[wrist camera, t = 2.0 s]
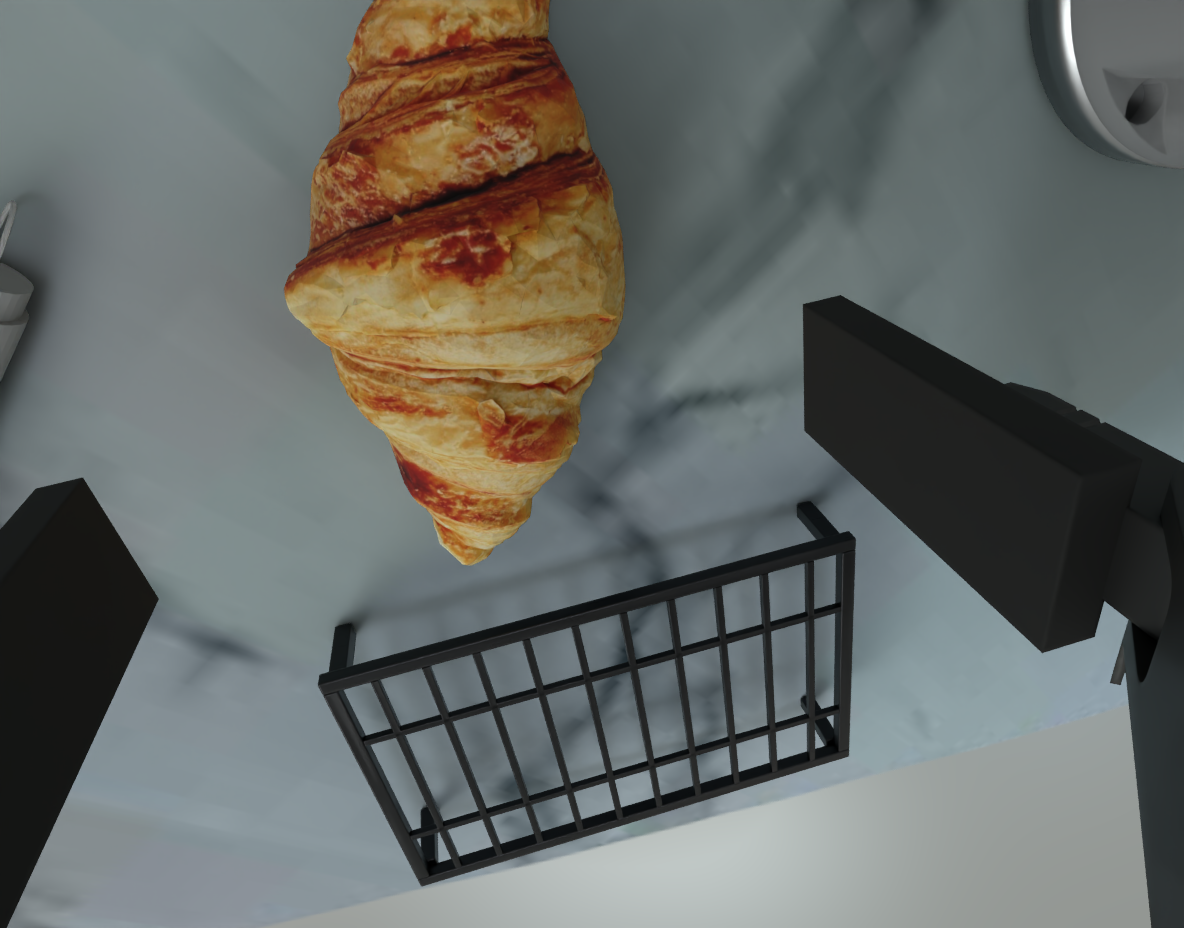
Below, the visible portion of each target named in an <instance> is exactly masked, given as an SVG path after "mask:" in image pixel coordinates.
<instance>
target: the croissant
mask: <svg viewBox="0 0 1184 928" xmlns="http://www.w3.org/2000/svg"><path fill="white" fill-rule="evenodd" d="M549 3H550V0H374V1H373V3H372V4H371V6H370V7H369V9H368V10H367V12H366V13H365V15H364V17H363V18H362V20H361V22H360V24H359V26H358V28H357V31H356V35H355V39H354V43H353V47H352V49H351V51H350V52H349V54H348V56H347V58H346V59H347V61H348V63H349V65H350V67H351V71H350V75H349V80H348V84H347V88H346V89H345V90H344V91H343V92H342V93H341V95H340V98H339V102H338V106H339V111H340V115H341V118H340V127H339V134H338V135H336V136H335V137H334V138H333V139H332V140H330V142H329V144H328V145H327V147H326V149H325V151H324V152H323V154H322V156H321V157H320V160H319V164H318V165H317V166H316V168H315V170H314V173H313V179H312V185H311V207H310V220H311V236H310V246H309V251H308V255H307V257H306V258H304V259H303V260H302V261H300V262H299V263H298V264H296V269H295V270H294V271H293V272H292V273H291V274H290V275H289V276H288V279H287V282H286V284H285V287H284V292H285V299H286V302H287V305H288V308H289V310H290V311H291V313H292V314H293V315H294V317H295V318H296V319H298V320H300V321H301V322H302V323H303V324H304V325H305V326H306V327H307V328H309V329H310V330H311V332H312V334H313V335H314V336H315V337H317V338H318V339H319V340H320V341H322V342H323V343H325V344H326V345H328V346H330V350H331V352H332V355H333V359H334V362H335V365H336V368H337V371H338V375H339V378H340V380H341V382H342V383H343V385H344V386H345V389H346V392H347V394H348V396H349V397H350V398H351V400H352V401H353V402H354V404H355V405H356V406H357V407H358V409H359V410H360V411H361V412H362V414H363V415H364V416H365V417H366V418H367V419H368V420H369V421H370V422H371V423H373V424H374V425H375V426H376V427H378V428H379V429H381V430H383V431H384V433H385V435H386V436H387V437H388V439H389V441H390V444H391V447H392V449H393V452H394V455H395V457H396V460H397V463H398V466H399V469H400V472H401V475H402V478H403V480H404V483H405V485H406V486H407V488H408V490H409V492H410V493H411V495H412V496H413V497H414V499H415V500H416V501H417V503H419V504H420V505H422V506H423V507H425V508H426V509H427V511H428V512H429V513H430V514H431V515H432V517H433V523H434V528H435V530H436V532H437V535H438V539H439V543H440V544H441V545H442V546H443V547H444V548H445V549H447V550H448V551H449V552H450V553H451V554H452V555H453V556H454V557H455V558H456V559H457V560H459V561H460V562H461V563H462V564H463V565H470V566H472V565H474V564H476V563H478V562H480V561H482V560H484V559H486V558H487V557H488V556H489V555H490V554H491V552H492V550H493V548H494V547H495V546H497V545H499V544H501V543H503V541H504V540H505V539H508V538H510V537H511V536H513V535H514V534H515V533H516V532H517V530H518V529H519V527H520V526H521V525H522V524H523V523H525V522H526V521H527V519H528V518H529V517H530V514H531V507H532V497H533V496H534V495H535V493H537V492H538V491H539V490H540V488H541V485H543V484H544V483H545V482H546V481H547V480H549V479H550V478H551V477H552V476H553V475H554V474H555V472H556V470H557V469H558V468H560V467H561V465H562V463H564V462H566V461H567V460H568V459H569V457H570V455H571V452H572V449H573V445H575V444H576V443H577V441H578V437H579V434H580V431H579V428H578V425H579V423H580V422H581V414H580V402H581V399H582V396H583V393H584V392H585V391H586V389H587V388H588V387H589V386H590V385H591V383H592V380H593V377H594V369H595V366H596V365H597V364H598V363H599V362H600V361H601V360H602V349H604V348H605V347H606V346H608V345H609V344H610V343H611V341H612V340H613V339H614V337H615V336H616V335H617V332H618V327H619V324H620V322H621V320H622V318H623V310H624V301H625V273H624V258H623V240H622V232H621V228H620V225H619V222H618V218H617V214H616V211H615V208H614V201H613V189H612V187H611V184H610V182H609V179H608V177H607V174H606V172H605V170H604V168H603V167H602V165H601V163H600V161H599V160H598V158H597V157H596V155H595V153H594V152H593V150H592V147H591V144H590V141H589V138H588V133H587V127H586V121H585V116H584V114H583V112H582V109H581V107H580V105H579V103H578V100H577V97H576V93H575V90H574V87H573V84H572V82H571V81H570V79H569V77H568V75H567V73H566V71H565V69H564V68H563V66H562V64H561V62H560V60H559V58H558V56H557V54H556V52H555V50H554V48H553V46H552V44H551V43H550V42H549V40H548V39H547V37H548V32H549V24H548V16H549Z"/></svg>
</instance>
